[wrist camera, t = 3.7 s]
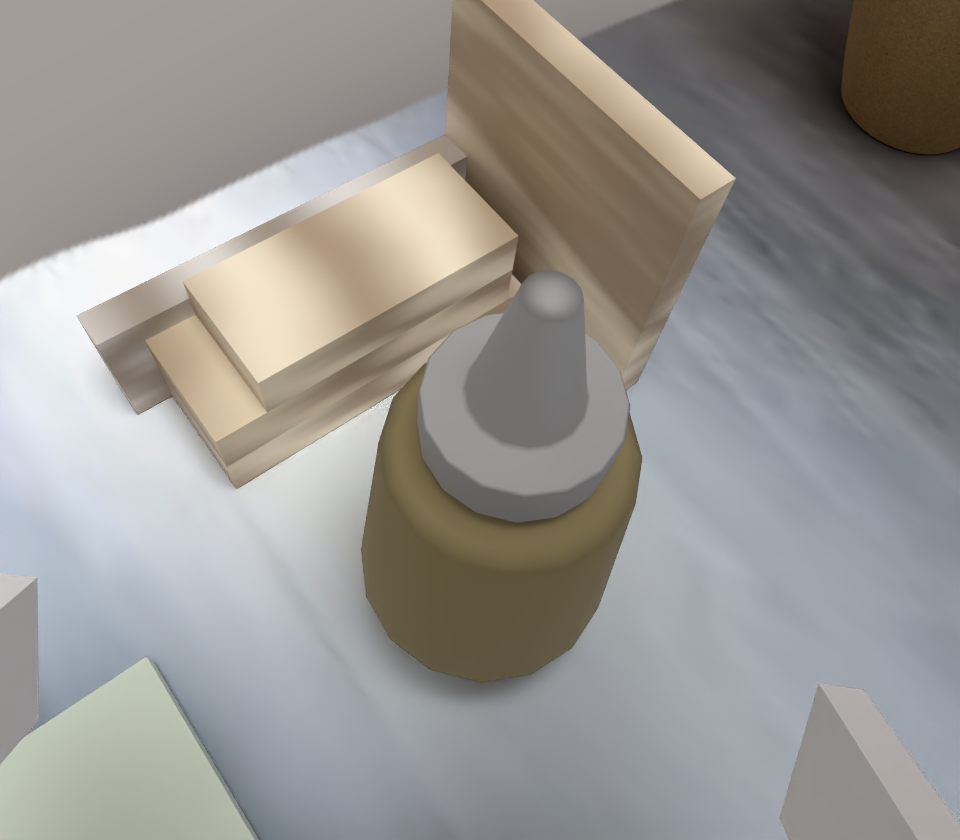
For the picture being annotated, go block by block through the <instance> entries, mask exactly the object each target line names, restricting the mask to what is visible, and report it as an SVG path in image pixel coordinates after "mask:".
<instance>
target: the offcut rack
mask: <svg viewBox="0 0 960 840" xmlns="http://www.w3.org/2000/svg"><path fill="white" fill-rule="evenodd" d="M735 179H736V178H735V177H733V176H732V175H731V174H730V173H729V172H728V171H727V170H725V169H724V168H723V167H722V166H721V165H720V164H719V163H718V162H716V161H715V160H714V159H713V158H712V157H711V156H710V155H708V154H707V153H706V152H705V151H704V150H703V149H702V148H700V147H699V146H698V145H697V144H696V143H695V142H694V141H693V140H691V139H690V138H689V137H688V136H687V135H686V134H685V133H683V132H682V131H681V130H680V129H679V128H678V127H677V126H675V125H674V124H673V123H672V122H671V121H670V120H669V119H667V118H666V117H665V116H664V115H663V114H662V113H661V112H660V111H658V110H657V109H656V108H655V107H654V106H653V105H652V104H650V103H649V102H648V101H647V100H646V99H645V98H644V97H642V96H641V95H640V94H639V93H638V92H637V91H636V90H635V89H633V88H632V87H631V86H630V85H629V84H628V83H627V82H625V81H624V80H623V79H622V78H621V77H620V76H619V75H617V74H616V73H615V72H614V71H613V70H612V69H611V68H609V67H608V66H607V65H606V64H605V63H604V62H603V61H602V60H600V59H599V58H598V57H597V56H596V55H595V54H594V53H592V52H591V51H590V50H589V49H588V48H587V47H586V46H584V45H583V44H582V43H581V42H580V41H579V40H578V39H577V38H575V37H574V36H573V35H572V34H571V33H570V32H568V31H567V30H566V29H565V28H564V27H563V26H562V25H561V24H559V23H558V22H557V21H556V20H555V19H554V18H553V17H551V16H550V15H549V14H548V13H547V12H546V11H545V10H544V9H542V8H541V7H540V6H539V5H538V4H537V3H535V2H534V1H533V0H453V2H452V22H451V39H450V57H449V76H448V94H447V112H446V131H445V135H443V136H441V137H439V138H437V139H435V140H432V141H430V142H428V143H426V144H424V145H422V146H420V147H418V148H416V149H414V150H412V151H410V152H408V153H406V154H404V155H402V156H400V157H398V158H396V159H394V160H392V161H390V162H388V163H386V164H384V165H382V166H380V167H378V168H376V169H374V170H372V171H370V172H367V173H365V174H363V175H361V176H359V177H357V178H355V179H353V180H351V181H349V182H347V183H345V184H343V185H341V186H339V187H337V188H335V189H333V190H331V191H329V192H327V193H325V194H323V195H321V196H319V197H317V198H315V199H313V200H311V201H309V202H307V203H305V204H303V205H300V206H298V207H296V208H294V209H292V210H290V211H288V212H286V213H284V214H282V215H280V216H278V217H276V218H274V219H272V220H270V221H268V222H266V223H264V224H262V225H260V226H258V227H256V228H254V229H252V230H250V231H248V232H246V233H244V234H242V235H240V236H238V237H235V238H233V239H231V240H229V241H227V242H225V243H223V244H221V245H219V246H217V247H215V248H213V249H211V250H209V251H207V252H205V253H203V254H201V255H199V256H197V257H195V258H193V259H191V260H189V261H187V262H185V263H183V264H181V265H179V266H177V267H175V268H173V269H170V270H168V271H166V272H164V273H162V274H160V275H158V276H156V277H154V278H152V279H150V280H148V281H146V282H144V283H142V284H140V285H138V286H136V287H134V288H132V289H130V290H128V291H126V292H124V293H122V294H120V295H118V296H116V297H114V298H112V299H110V300H108V301H106V302H103V303H101V304H99V305H97V306H95V307H93V308H91V309H89V310H87V311H85V312H83V313H81V314H79V315H77V318H78V319H79V321H80V323H81V324H82V326H83V328H84V329H85V331H86V332H87V334H88V336H89V337H90V339H91V341H92V342H93V344H94V346H95V347H96V349H97V351H98V352H99V354H100V356H101V357H102V359H103V361H104V362H105V364H106V366H107V367H108V369H109V371H110V372H111V374H112V375H113V377H114V379H115V380H116V382H117V384H118V385H119V387H120V389H121V390H122V392H123V393H124V395H125V396H126V398H127V399H128V401H129V402H130V404H131V405H132V407H133V408H134V410H135V411H136V413H137V414H140V413H142V412H144V411H145V410H147V409H149V408H151V407H153V406H155V405H156V404H158V403H160V402H162V401H164V400H165V399H167V398H169V397H171V396H173V397H174V399H175V400H176V401H177V403H178V404H179V406H180V407H181V409H182V410H183V412H184V413H185V415H186V416H187V417H188V419H189V420H190V422H191V423H192V425H193V426H194V428H195V429H196V430H197V432H198V433H199V435H200V436H201V438H202V439H203V441H204V442H205V444H206V445H207V446H208V448H209V449H210V451H211V452H212V454H213V455H214V457H215V458H216V460H217V461H218V462H219V464H220V465H221V467H222V468H223V470H224V471H225V473H226V474H227V475H228V477H229V478H230V480H231V481H232V483H233V484H234V486H235V487H236V489H237V488H239V487H241V486H242V485H244V484H246V483H247V482H249V481H250V480H252V479H254V478H255V477H257V476H259V475H260V474H262V473H264V472H265V471H267V470H268V469H270V468H272V467H273V466H275V465H277V464H278V463H280V462H282V461H283V460H285V459H287V458H288V457H290V456H291V455H293V454H295V453H296V452H298V451H300V450H301V449H303V448H305V447H306V446H308V445H310V444H311V443H313V442H314V441H316V440H318V439H319V438H321V437H323V436H324V435H326V434H328V433H329V432H331V431H333V430H334V429H336V428H337V427H339V426H341V425H342V424H344V423H346V422H347V421H349V420H351V419H352V418H354V417H356V416H357V415H359V414H360V413H362V412H364V411H365V410H367V409H369V408H370V407H372V406H374V405H375V404H377V403H378V402H380V401H382V400H383V399H385V398H387V397H388V396H390V395H392V394H393V393H395V392H397V391H398V390H400V389H401V388H403V386H404V385H405V384H406V383H407V382H408V381H409V380H410V379H411V378H412V376H413V375H414V374H415V373H416V372H417V371H418V370H419V369H420V368H421V367H422V365H423V364H425V363H427V361H428V358H429V357H430V356H431V355H432V353H433V352H434V351H435V350H436V349H437V348H438V347H439V346H440V345H441V344H442V342H443V341H444V340H445V339H446V338H447V337H448V336H449V335H450V334H451V333H452V331H454V330H456V329H458V328H460V327H462V326H465V325H467V324H469V323H471V322H473V321H475V320H477V319H479V318H481V317H484V316H486V315H492V314H503V313H504V312H505V311H506V309H507V307H508V306H509V304H510V302H511V300H512V299H513V297H514V295H515V294H516V292H517V290H518V289H519V287H520V285H521V284H522V283H523V282H524V280H525V279H526V278H527V277H528V276H529V275H532V274H534V273H536V272H538V271H546V270H553V271H557V272H562V273H564V274H566V275H568V276H569V277H571V278H573V279H574V280H575V281H576V283H577V284H578V285H579V286H580V287H581V290H582V293H583V297H584V316H585V334H586V335H588V336H590V337H591V338H593V339H594V340H596V341H597V342H598V343H599V344H600V346H601V347H602V348H603V350H604V351H605V352H606V353H607V355H608V356H609V357H610V358H611V360H612V361H613V362H614V363H615V365H616V366H617V367H618V369H619V370H620V372H621V375H622V379H623V382H624V386H625V389H628V388H629V387H631V386H632V385H634V384H635V383H637V381H638V379H639V377H640V375H641V373H642V371H643V369H644V367H645V365H646V363H647V361H648V359H649V357H650V354H651V352H652V350H653V348H654V346H655V344H656V342H657V340H658V338H659V336H660V334H661V332H662V330H663V328H664V326H665V323H666V321H667V319H668V317H669V315H670V313H671V311H672V309H673V307H674V305H675V303H676V301H677V299H678V297H679V295H680V292H681V290H682V288H683V286H684V284H685V282H686V280H687V278H688V276H689V274H690V272H691V270H692V268H693V266H694V263H695V261H696V259H697V257H698V255H699V253H700V251H701V249H702V247H703V245H704V243H705V241H706V239H707V237H708V235H709V232H710V230H711V228H712V226H713V224H714V222H715V220H716V218H717V216H718V214H719V212H720V210H721V208H722V206H723V204H724V201H725V199H726V197H727V195H728V193H729V191H730V189H731V187H732V185H733V183H734V181H735Z"/></svg>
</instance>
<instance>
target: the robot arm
mask: <svg viewBox="0 0 960 840" xmlns="http://www.w3.org/2000/svg"><path fill="white" fill-rule="evenodd" d="M38 720H39V685H38V596H37V577H30V576H23V575H15V574H8V573H1V572H0V764H1V763H2V762H3V761H4V760H5V759H6V757H7V756H8V755H9V754H10V753H11V752H12V750H13V749H14V748H15V747H16V746H17V745H18V743H19V742H20V741H21V740H22V739H23V737H24V736H25V735H26V734H27V733H28V732H29V730H30V729H31V728H32V727H33V726H34V725H35V723H36V722H37V721H38ZM780 820H781V822H782V824H783V827H784V829H785V831H786V833H787V836H788V838H789V840H960V824H959V822H958V821H957V820H956V818H955V817H954V815H953V814H952V813H951V811H950V810H949V808H948V807H947V806H946V804H945V803H944V801H943V800H942V799H941V797H940V796H939V794H938V793H937V792H936V790H935V789H934V787H933V786H932V785H931V783H930V782H929V780H928V779H927V778H926V776H925V775H924V773H923V772H922V771H921V769H920V768H919V766H918V765H917V764H916V762H915V761H914V759H913V758H912V757H911V755H910V754H909V752H908V751H907V750H906V748H905V747H904V745H903V744H902V743H901V741H900V740H899V738H898V737H897V736H896V734H895V733H894V731H893V730H892V729H891V727H890V726H889V724H888V723H887V722H886V720H885V719H884V717H883V716H882V715H881V713H880V712H879V710H878V709H877V708H876V706H875V705H874V703H873V702H872V701H871V699H870V698H869V696H868V695H867V694H866V692H865V691H864V690H863V689H856V688H848V687H841V686H834V685H826V684H818V688H817V691H816V695H815V698H814V702H813V705H812V709H811V712H810V715H809V719H808V722H807V726H806V729H805V733H804V736H803V739H802V743H801V746H800V750H799V753H798V757H797V760H796V763H795V767H794V770H793V774H792V777H791V781H790V784H789V787H788V791H787V794H786V798H785V801H784V805H783V808H782V811H781V815H780Z"/></svg>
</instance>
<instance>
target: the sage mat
mask: <svg viewBox="0 0 960 840" xmlns="http://www.w3.org/2000/svg"><path fill="white" fill-rule="evenodd" d="M0 840H259V839H258V837H257V835H256V834H255V832H254V830H253V829H252V827H251V825H250V823H249V822H248V820H247V818H246V817H245V815H244V813H243V812H242V810H241V808H240V807H239V805H238V803H237V801H236V800H235V798H234V796H233V795H232V793H231V791H230V790H229V788H228V786H227V785H226V783H225V781H224V780H223V778H222V776H221V774H220V773H219V771H218V769H217V768H216V766H215V764H214V763H213V761H212V759H211V758H210V756H209V754H208V752H207V751H206V749H205V747H204V746H203V744H202V742H201V741H200V739H199V737H198V736H197V734H196V732H195V730H194V729H193V727H192V725H191V724H190V722H189V720H188V719H187V717H186V715H185V714H184V712H183V710H182V708H181V707H180V705H179V703H178V702H177V700H176V698H175V697H174V695H173V693H172V692H171V690H170V688H169V687H168V685H167V683H166V681H165V680H164V678H163V676H162V675H161V673H160V671H159V670H158V668H157V666H156V665H155V663H154V662H153V661H152V660H150V659H149V658H148V657H147V656H146V657H145V658H143V659H142V660H140V661H139V662H137V663H136V664H134V665H133V666H131V667H130V668H128V669H127V670H125V671H124V672H122V673H121V674H119V675H118V676H116V677H115V678H113V679H111V680H110V681H108V682H107V683H105V684H104V685H102V686H101V687H99V688H98V689H96V690H95V691H93V692H92V693H90V694H89V695H87V696H86V697H84V698H83V699H81V700H80V701H78V702H77V703H75V704H74V705H72V706H71V707H69V708H67V709H66V710H64V711H63V712H61V713H60V714H58V715H57V716H55V717H54V718H52V719H51V720H49V721H48V722H46V723H45V724H43V725H42V726H40V727H39V728H37V729H36V730H34V731H33V732H31V733H30V734H28V735H27V736H25V737H23V739H22V740H21V741H20V742H19V743H18V745H17V746H16V747H15V748H14V749H13V750H12V752H11V753H10V754H9V755H8V756H7V757H6V759H5V760H4V761H3V762H2V763H1V764H0Z"/></svg>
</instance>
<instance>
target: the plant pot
mask: <svg viewBox="0 0 960 840" xmlns="http://www.w3.org/2000/svg"><path fill="white" fill-rule="evenodd" d="M841 94H842V99H843V102H844V104H845V107H846V109H847V111H848V112H849V114H850V115H851V117H852V118H853V120H854V121H855V122H856V123H857V124H858V125H859V126H860V127H861V128H862V129H863V130H865V131H866V132H867V133H868V134H870V135H871V136H872V137H874V138H876V139H877V140H879V141H881V142H883V143H885V144H887V145H889V146H891V147H894V148H897V149H900V150H903V151H906V152H912V153H918V154H941V153H945V152H950V151H953V150H955V149H957V148H959V147H960V0H854V1H853V6H852V12H851V17H850V23H849V29H848V36H847V42H846V50H845V57H844V65H843V74H842V86H841Z"/></svg>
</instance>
